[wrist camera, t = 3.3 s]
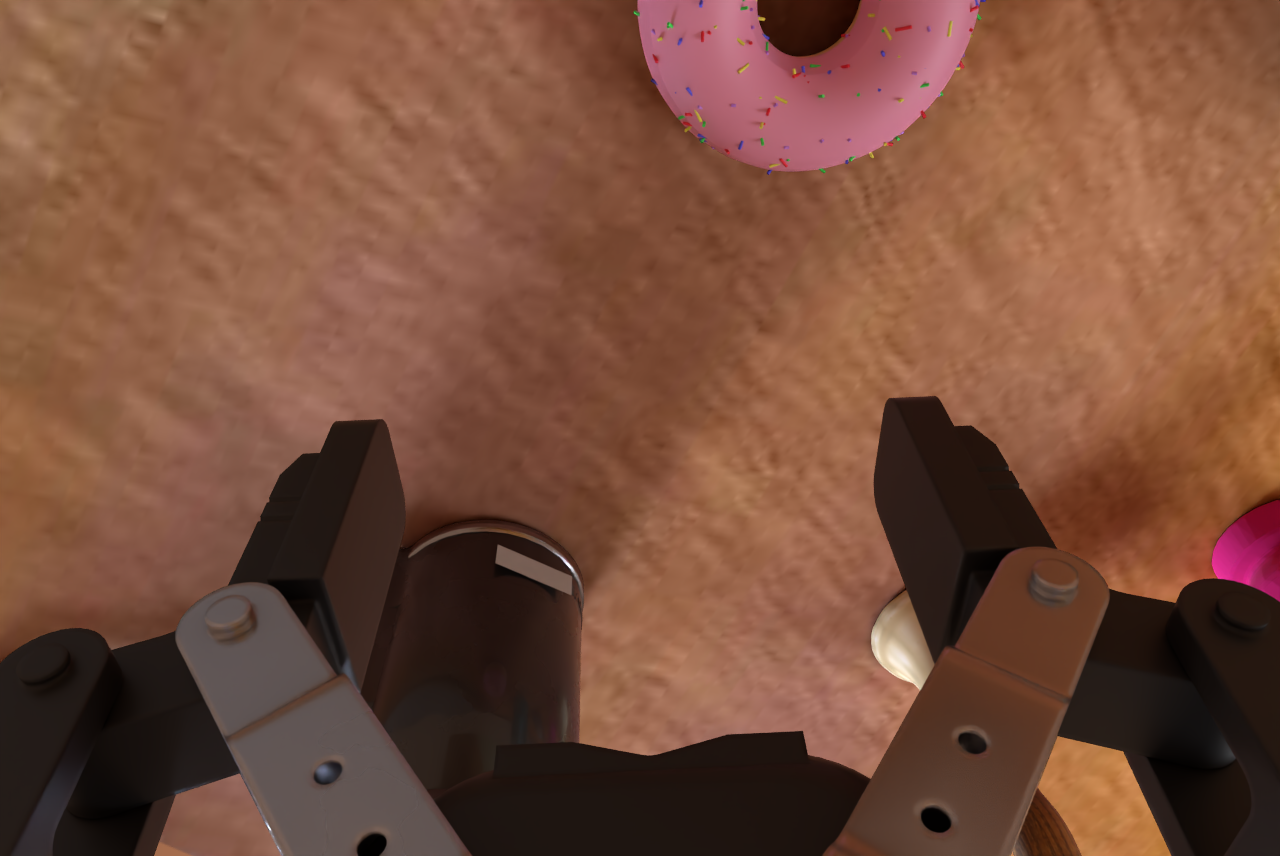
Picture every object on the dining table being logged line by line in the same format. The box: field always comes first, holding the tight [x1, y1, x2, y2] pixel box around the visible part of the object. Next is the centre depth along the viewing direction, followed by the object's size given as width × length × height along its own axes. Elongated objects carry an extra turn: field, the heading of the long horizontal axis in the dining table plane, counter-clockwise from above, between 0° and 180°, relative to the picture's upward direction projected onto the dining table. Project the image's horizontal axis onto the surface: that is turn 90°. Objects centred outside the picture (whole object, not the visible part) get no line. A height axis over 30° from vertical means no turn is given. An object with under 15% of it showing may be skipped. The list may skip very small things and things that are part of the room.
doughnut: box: [633, 0, 986, 175], centre depth 29 cm, size 11×11×4 cm
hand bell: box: [871, 590, 1082, 856], centre depth 42 cm, size 8×8×16 cm
